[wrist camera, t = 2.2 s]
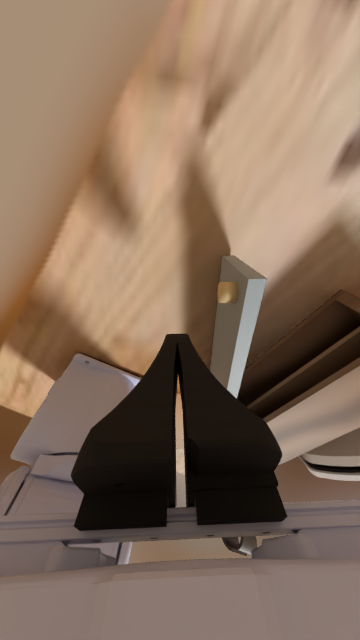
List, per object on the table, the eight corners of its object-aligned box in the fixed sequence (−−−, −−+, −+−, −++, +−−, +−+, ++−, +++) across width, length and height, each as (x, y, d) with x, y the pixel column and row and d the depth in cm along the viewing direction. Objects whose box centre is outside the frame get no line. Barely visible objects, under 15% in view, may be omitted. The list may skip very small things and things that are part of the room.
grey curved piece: (279, 430, 31) (315, 501, 21) (270, 408, 30) (303, 471, 20) (388, 403, 27) (491, 471, 18) (381, 377, 26) (485, 434, 17)
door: (199, 395, 24) (207, 444, 19) (210, 256, 15) (230, 279, 9) (214, 394, 24) (225, 443, 19) (234, 255, 15) (267, 278, 9)
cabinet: (214, 395, 25) (226, 448, 19) (341, 289, 17) (422, 327, 11) (257, 414, 28) (279, 464, 22) (383, 331, 20) (465, 377, 14)
